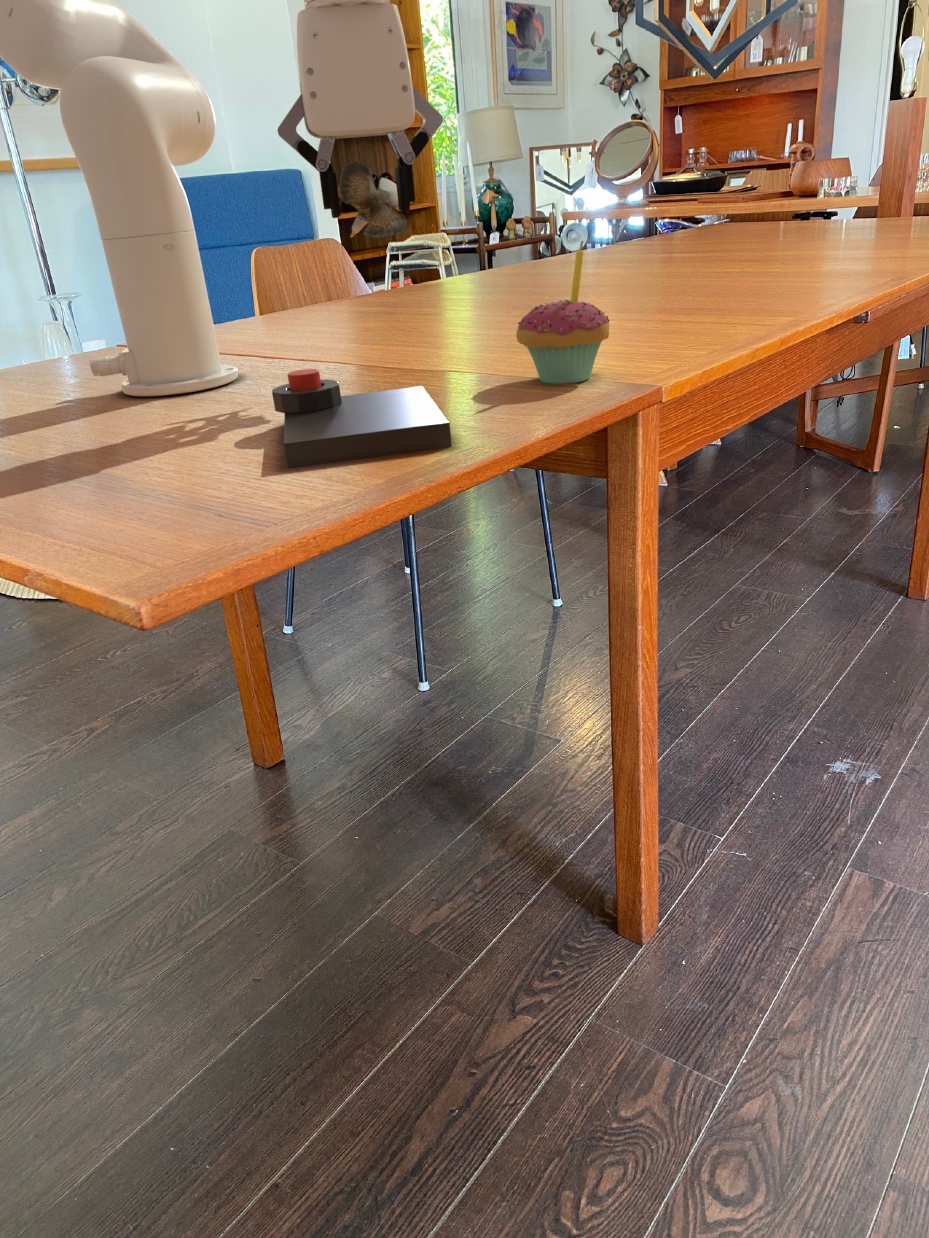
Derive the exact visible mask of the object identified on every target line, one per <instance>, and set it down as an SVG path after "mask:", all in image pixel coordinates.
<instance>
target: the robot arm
mask: <svg viewBox="0 0 929 1238" xmlns="http://www.w3.org/2000/svg"><path fill="white" fill-rule="evenodd" d="M303 4H304V9H302V10H300V11H298V13H297V18H296V52H297V53H296V54H297V65H298V66H297V67H298V77H299V87H300V88H299V90H300V95H299V97H298V98H296V101H295V102H294V103H293V104H292V107H291V108H290V109H289V111H288V112H287V113H286V116H284V118H283V120H282V121H281V122H280V124H279V126H278V127H277V135H278V136H279V137H280V139H281V140H283V141H284V142H285V143H286V144H287V145H288V146H290V147H291V148H292V149H293V150H294V151H296V153H298V155H300V156H301V157H302V158H303V159H304V160H305V161H307V163H308V164H309V165H310V166H312V167H313V168H314V169H315V170H316V171H317V172H318V175H319V182H320V188H321V189H320V190H321V197H322V198H321V199H322V205H323V210H330V213H331V218H332V219H338V218H340V217H342V214H341V205H340V197H339V195H338V188H339V187H338V182H337V174H336V172H335V171H334V170H333V164H332V163H331V159H332V155H333V150H334V146H335V142H336V140H337V139H349V138H362V137H376V136H387V137H388V139H389V142H390V143H391V146H392V148H393V150H394V152H395V154H396V156H397V158H396V164H397V165H396V167H394V173H395V175H394V176H395V184H396V186H397V196H398V206H399V207H398V210H399V211H400V212H401V213H407V212H408V213H409V212H411V205H410V203H415V202H416V193H415V181H414V171H413V164H414V163H415V161H416V160H417V158H418V157H419V156H420V154H421V153H422V151H423V150H424V148H426V146H427V145H428V143H429V141H430V140H431V139H432V138H433V136H434V135H435V133H436V132H437V130H439V128H440V127H441V126H442V124H443V123H444V116H443V115H442V114H441V113H440V112H439V111H438V110H437V109H436V108H435V107H434V106H433V105H432V104H431V103H430V101H428V100H427V99H426V98H425V97H424V95H422V93H420V92H419V91H418V90H417V89H416V87H414V86H413V80H412V74H411V67H410V65H411V64H410V59H409V53H408V47H407V42H406V37H405V33H404V29H403V28H404V27H403V24H402V19H401V16H400V15H401V14H400V11H399V8H398V5H396V4H394V3H391V1H390V0H303ZM0 59H1V60H2V61H3V62H4V63H5V64H6V65H7V66H8V67H9V68H10V69H11V70H12V71H14V72H15V73H16V74H17V75H18V76H20V77H21V78H22V79H24V80H25V81H27V82H28V83H30V84H33V85H35V86H38V87H41V88H45V89H52V90H58V91H59V90H60V94H59V111H60V118H61V123H62V126H63V129H64V132H65V135H66V138H67V141H68V143H69V146H70V148H71V150H72V152H73V155H74V157H75V159H76V161H77V164H78V166H79V168H80V171H81V174H82V176H83V179H84V182H85V185H86V188H87V191H88V194H89V197H90V201H91V204H92V208H93V212H94V216H95V221H96V224H97V228H98V230H99V231H98V232H99V236H100V240H101V243H102V247H103V251H104V256H105V261H106V264H107V268H108V272H109V276H110V281H111V285H112V288H113V293H114V298H115V302H116V305H117V310H118V313H119V318H120V322H121V326H122V330H123V334H124V338H125V343H126V346H127V347H126V348H124V350H122V351H121V352H118V356H109V357H108V356H103V357H95V358H89V364H90V370H91V373H92V375H93V376H94V377H106V376H113V375H119V374H120V375H122V376H123V377H125V376H127V378H126V379H125V380H122V381H121V389H122V392H123V394H125V395H126V396H131V397H163V396H171V395H181V394H185V393H186V394H188V393H192V392H198V391H199V392H200V391H204V390H208V389H212V388H217V387H221V386H224V385H226V384H229V383H233V382H234V381H235V380H237V379H238V377H239V373H238V368H237V367H236V366H234V365H232V364H227V363H226V364H224V363H222V360H221V355H220V350H219V343H218V339H217V334H216V329H215V325H214V319H213V314H212V310H211V305H210V304H211V303H210V299H209V294H208V289H207V284H206V279H205V275H204V274H205V273H204V270H203V264H202V259H201V255H200V250H199V244H198V239H197V235H196V229H195V225H194V220H193V216H192V211H191V206H190V203H189V200H188V197H187V194H186V191H185V189H184V186H183V185H182V182H181V180H180V177H179V175H178V173H177V171H176V169H175V167H179V166H185V165H189V164H193V163H195V162H197V161H199V160H200V159H202V158H203V157H204V156H205V155H206V154H207V153H208V152H209V150H210V149H211V147H212V145H213V143H214V139H215V135H216V116H215V111H214V107H213V104H212V101H211V99H210V96H209V95H208V93H207V91H206V89H205V88H204V87H203V85H202V83H201V82H200V81H199V80H198V79H197V77H196V76H195V75H194V74H193V73H192V72H191V71H190V70H189V68H187V67H186V66H185V65H184V63H183V62H181V61H180V60H179V59H178V58H177V57H176V56H175V55H174V54H173V53H172V52H171V51H170V50H169V49H168V48H167V47H166V46H165V45H163V43H162V42H161V41H160V40H159V39H158V38H157V37H156V36H155V35H153V34H152V32H150V30H148V29H147V28H146V27H145V26H144V25H143V24H142V23H141V22H140V21H139V20H138V19H137V18H136V17H135V16H134V15H132V14H131V12H130V11H128V10H127V9H126V8H125V7H123V6H122V5H121V4H120V3H118V2H117V1H115V0H0ZM416 114H418V115H419V117H421V119H422V121H423V123H422V126H421V127H420V128H419V129H418V130H417V132H416V134H415V135H413V137H412V139H411V140H410V141H409V138H408V137H407V134H406V132H405V130H407V129H409V128H411V126H413V124H414V123H415V119H416ZM302 120H303V121H304V126H305V129H306V131H307V133H308V134H309V135H310V136H312V137H314V138H316V139H320V140H319V144H318V147H317V149H316V148H315V147H314V146H313V145H311V143H309V142H308V141H306V140H305V139H304V138H303V137H302V136H301V134H300V133H298V132H297V128H298V126H299V125H300V123H301V121H302Z"/></svg>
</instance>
